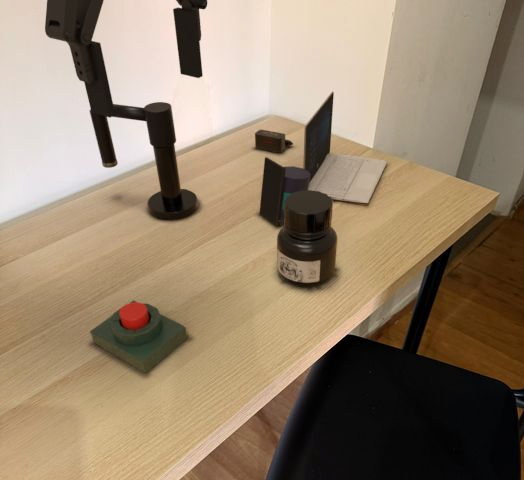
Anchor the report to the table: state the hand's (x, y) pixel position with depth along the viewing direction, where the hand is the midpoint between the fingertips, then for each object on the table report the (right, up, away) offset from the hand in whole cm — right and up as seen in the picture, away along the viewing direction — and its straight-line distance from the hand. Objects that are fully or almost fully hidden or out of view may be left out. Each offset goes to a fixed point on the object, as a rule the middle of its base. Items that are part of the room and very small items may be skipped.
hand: (150, 93), depth 57 cm
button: (-5, -24, +13) cm, 27 cm away
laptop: (+29, +6, +47) cm, 55 cm away
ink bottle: (+19, -16, +25) cm, 35 cm away
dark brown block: (+15, +16, +58) cm, 62 cm away
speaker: (+16, -4, +37) cm, 41 cm away
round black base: (-4, -1, +41) cm, 41 cm away
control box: (-5, -27, +15) cm, 31 cm away
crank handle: (-10, +5, +38) cm, 39 cm away
